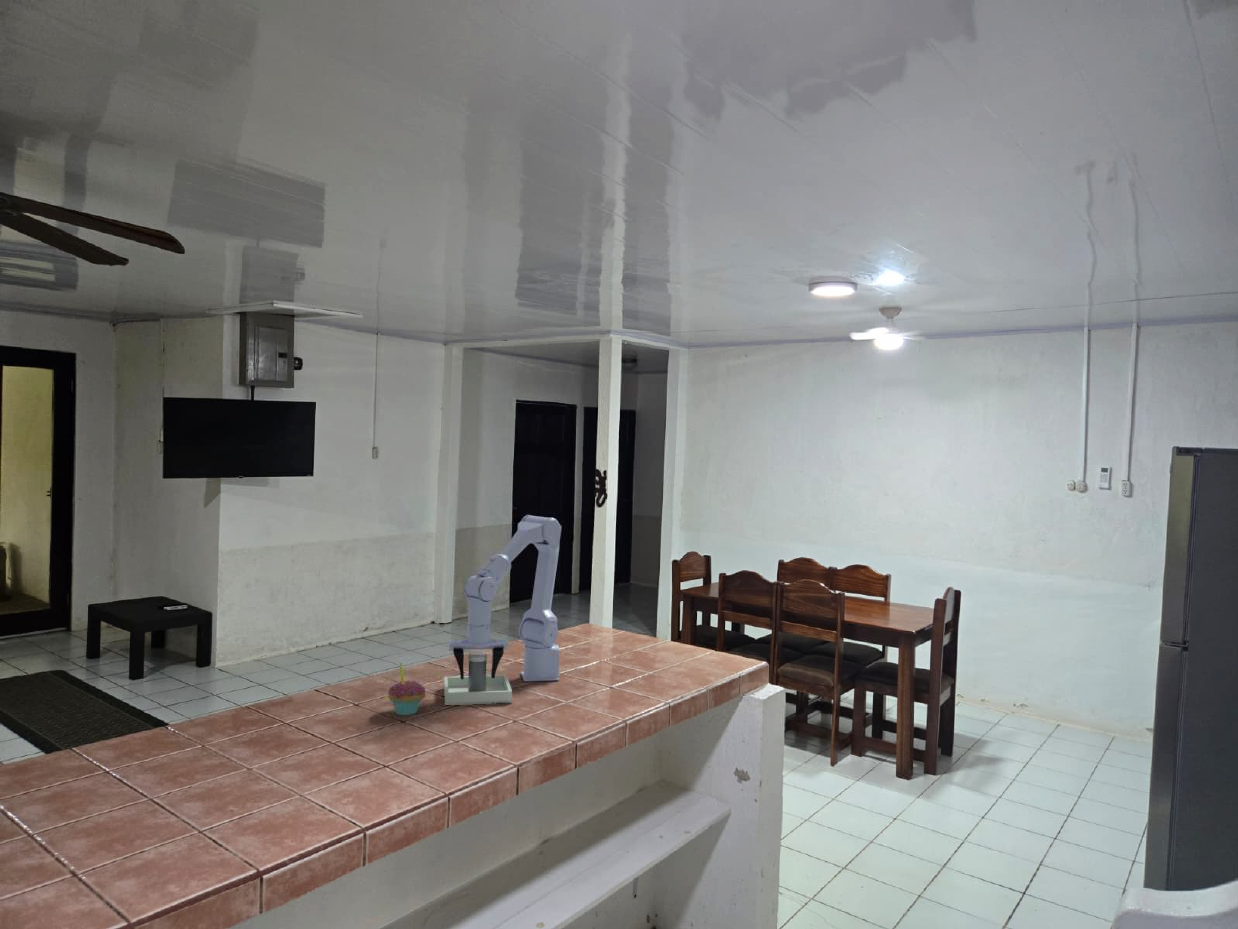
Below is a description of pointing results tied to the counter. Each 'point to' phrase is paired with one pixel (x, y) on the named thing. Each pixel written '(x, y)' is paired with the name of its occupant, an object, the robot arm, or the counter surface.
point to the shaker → (477, 672)
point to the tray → (494, 693)
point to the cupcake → (406, 695)
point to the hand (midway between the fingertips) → (477, 677)
